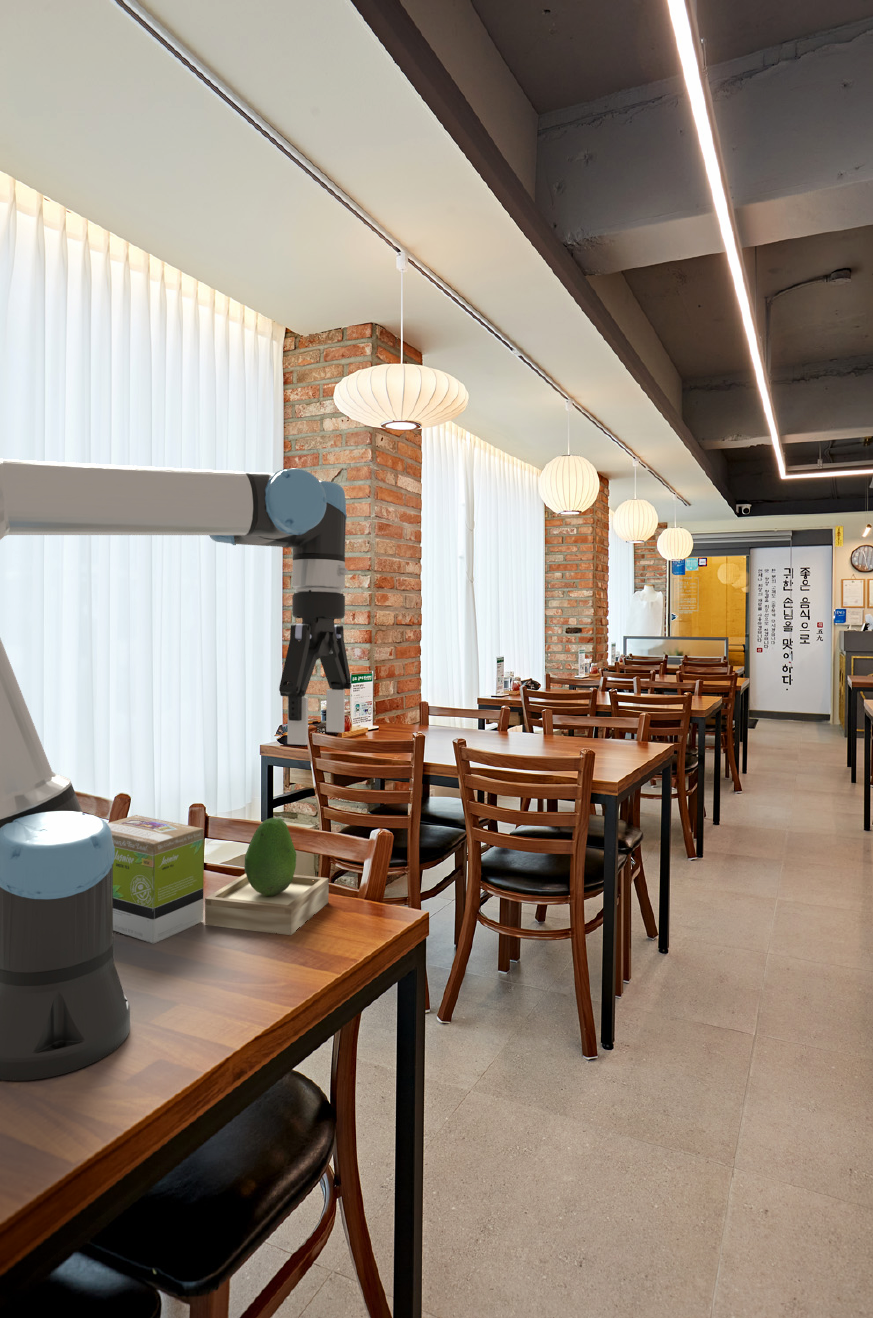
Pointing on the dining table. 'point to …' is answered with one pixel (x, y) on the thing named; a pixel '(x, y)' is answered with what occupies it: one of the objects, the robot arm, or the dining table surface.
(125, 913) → the tea box
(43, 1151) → the dining table surface
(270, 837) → the avocado
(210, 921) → the wooden tray
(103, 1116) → the dining table surface
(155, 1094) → the dining table surface
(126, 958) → the dining table surface
